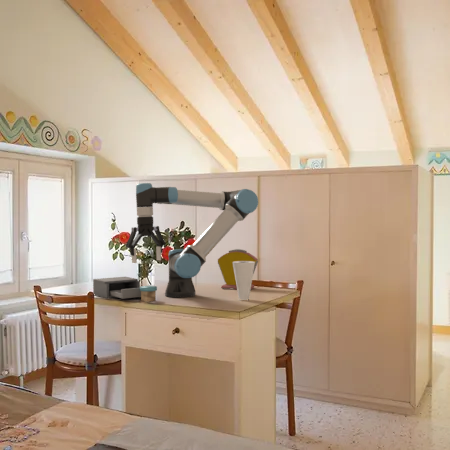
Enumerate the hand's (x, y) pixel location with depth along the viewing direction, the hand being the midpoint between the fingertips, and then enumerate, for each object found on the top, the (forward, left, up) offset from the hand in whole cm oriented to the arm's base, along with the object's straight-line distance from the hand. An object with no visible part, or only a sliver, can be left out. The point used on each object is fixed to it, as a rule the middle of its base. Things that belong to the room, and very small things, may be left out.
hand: (146, 261), depth 257 cm
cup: (-38, +25, -19) cm, 49 cm away
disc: (-1, -1, -14) cm, 14 cm away
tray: (+2, -14, -17) cm, 23 cm away
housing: (+2, -28, -19) cm, 34 cm away
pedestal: (-1, -1, -19) cm, 19 cm away
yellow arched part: (-61, -9, -19) cm, 65 cm away
